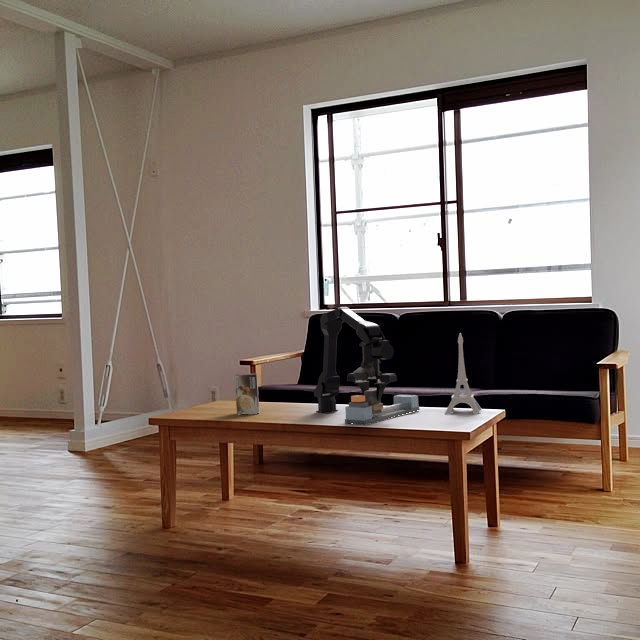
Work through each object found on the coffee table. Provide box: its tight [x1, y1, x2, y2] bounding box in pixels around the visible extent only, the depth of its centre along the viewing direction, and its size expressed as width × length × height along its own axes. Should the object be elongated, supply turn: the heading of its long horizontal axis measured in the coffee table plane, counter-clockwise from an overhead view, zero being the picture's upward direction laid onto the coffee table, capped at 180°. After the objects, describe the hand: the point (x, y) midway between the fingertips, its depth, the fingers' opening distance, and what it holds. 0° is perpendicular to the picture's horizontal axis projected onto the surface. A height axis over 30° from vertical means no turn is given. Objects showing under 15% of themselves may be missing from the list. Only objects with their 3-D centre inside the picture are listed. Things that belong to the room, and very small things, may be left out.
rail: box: [344, 394, 421, 426], centre depth 294 cm, size 9×37×8 cm, turn 142°
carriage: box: [364, 388, 384, 415], centre depth 288 cm, size 5×6×8 cm
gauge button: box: [350, 394, 365, 402], centre depth 281 cm, size 4×4×2 cm
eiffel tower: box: [443, 332, 483, 415], centre depth 299 cm, size 13×13×30 cm
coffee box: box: [234, 373, 260, 415], centre depth 319 cm, size 9×6×16 cm
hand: (372, 401), depth 288 cm, fingers open, 5 cm apart
